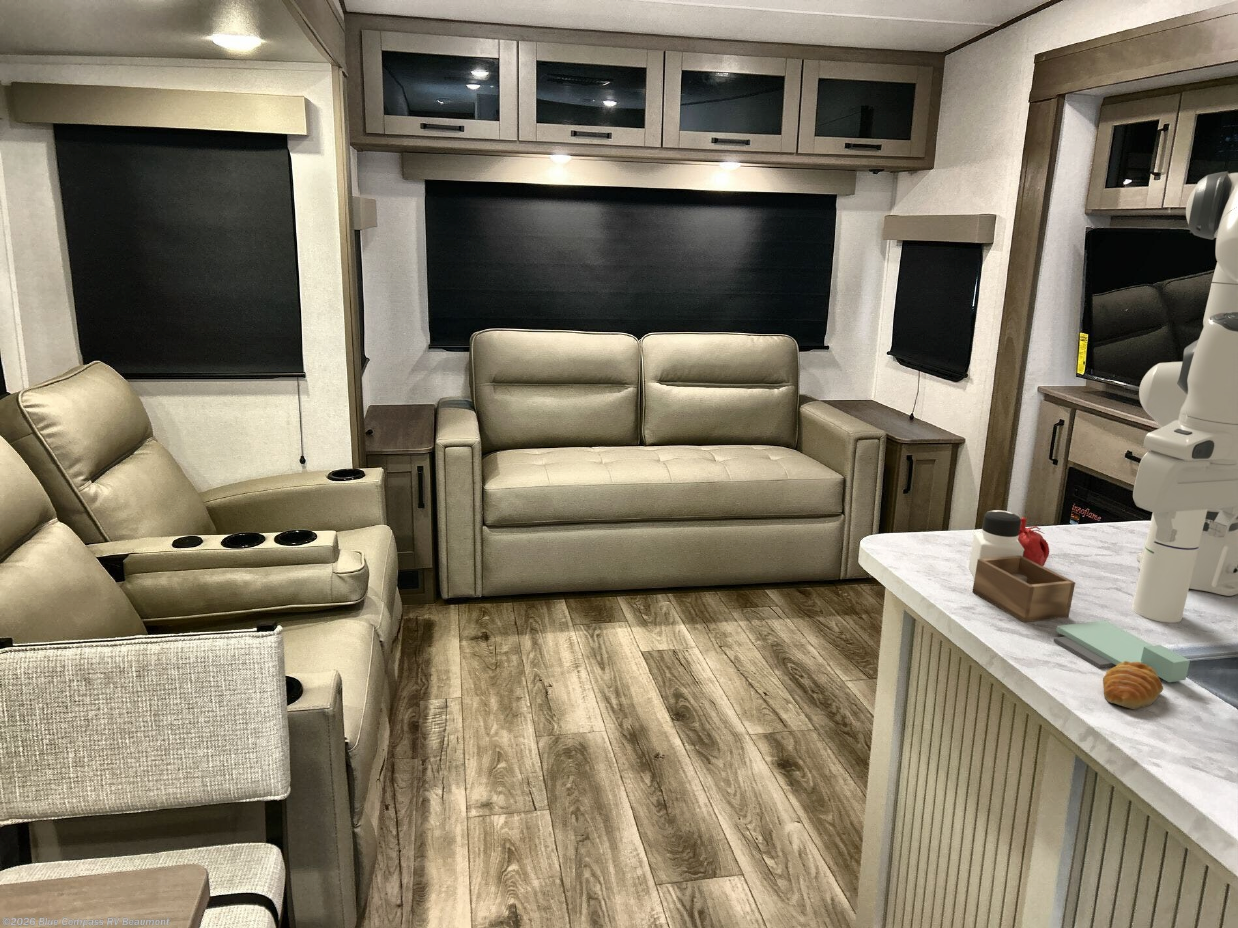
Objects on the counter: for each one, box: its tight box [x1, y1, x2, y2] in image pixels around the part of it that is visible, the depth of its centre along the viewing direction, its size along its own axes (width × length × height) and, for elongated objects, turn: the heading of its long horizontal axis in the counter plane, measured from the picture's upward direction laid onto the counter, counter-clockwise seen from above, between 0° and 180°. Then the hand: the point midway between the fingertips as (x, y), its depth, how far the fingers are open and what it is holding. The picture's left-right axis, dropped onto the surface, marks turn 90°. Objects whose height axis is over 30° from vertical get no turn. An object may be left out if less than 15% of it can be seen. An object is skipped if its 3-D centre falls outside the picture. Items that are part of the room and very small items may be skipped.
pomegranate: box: [1017, 516, 1050, 567], centre depth 164 cm, size 10×10×9 cm
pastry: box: [1102, 661, 1164, 710], centre depth 119 cm, size 9×7×4 cm
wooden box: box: [971, 556, 1076, 623], centre depth 147 cm, size 9×12×6 cm
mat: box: [1052, 636, 1117, 669], centre depth 132 cm, size 10×9×1 cm
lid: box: [1055, 620, 1191, 683], centre depth 130 cm, size 10×17×3 cm, turn 18°
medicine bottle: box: [968, 509, 1024, 579], centre depth 157 cm, size 7×7×12 cm
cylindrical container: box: [1131, 509, 1208, 624], centre depth 144 cm, size 7×7×25 cm
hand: (1191, 538), depth 120 cm, fingers open, 8 cm apart
